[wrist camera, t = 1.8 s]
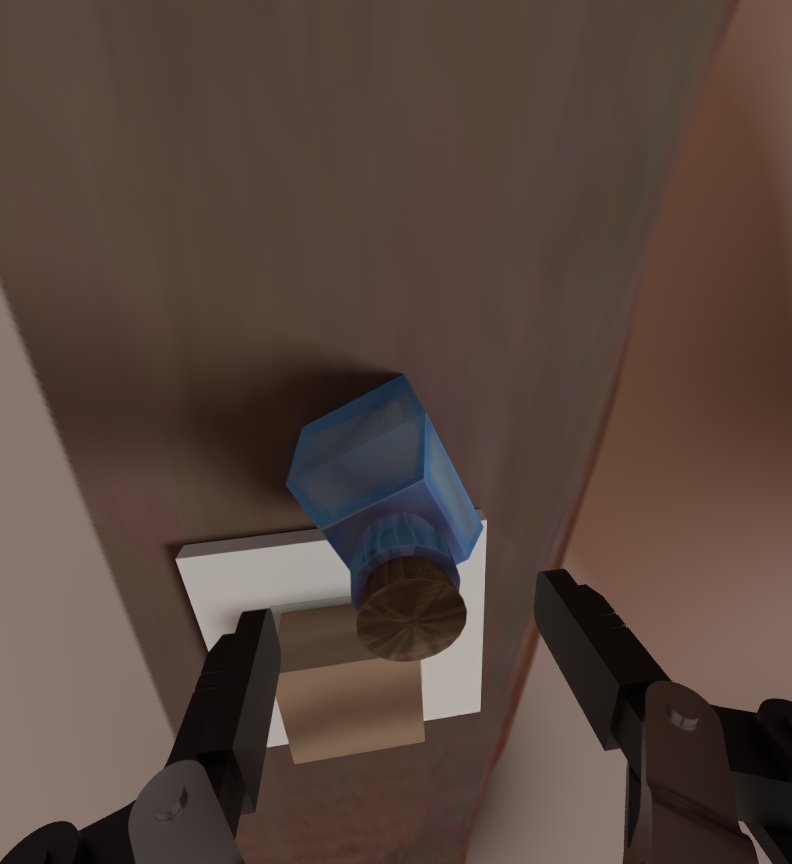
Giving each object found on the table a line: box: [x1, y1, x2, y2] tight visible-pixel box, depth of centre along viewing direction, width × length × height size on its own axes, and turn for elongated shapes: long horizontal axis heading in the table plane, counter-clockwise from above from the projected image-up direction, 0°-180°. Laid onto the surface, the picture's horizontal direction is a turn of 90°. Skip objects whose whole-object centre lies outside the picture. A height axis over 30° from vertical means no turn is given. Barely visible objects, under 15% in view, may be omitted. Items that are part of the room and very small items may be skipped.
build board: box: [175, 509, 487, 748], centre depth 26 cm, size 18×18×1 cm
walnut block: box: [276, 603, 425, 764], centre depth 24 cm, size 8×8×4 cm
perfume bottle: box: [286, 374, 484, 662], centre depth 16 cm, size 6×6×12 cm
